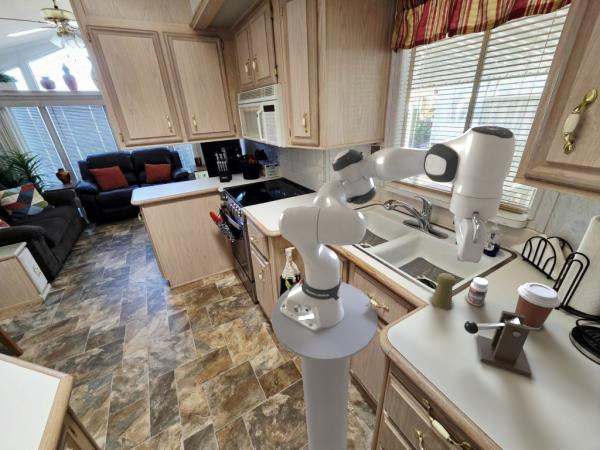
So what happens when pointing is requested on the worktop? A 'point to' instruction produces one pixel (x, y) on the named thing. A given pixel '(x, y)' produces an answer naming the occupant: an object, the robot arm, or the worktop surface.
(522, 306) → the coffee cup
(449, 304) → the olive tapered figurine
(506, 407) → the worktop surface
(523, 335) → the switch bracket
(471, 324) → the lever
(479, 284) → the pill bottle
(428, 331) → the worktop surface
